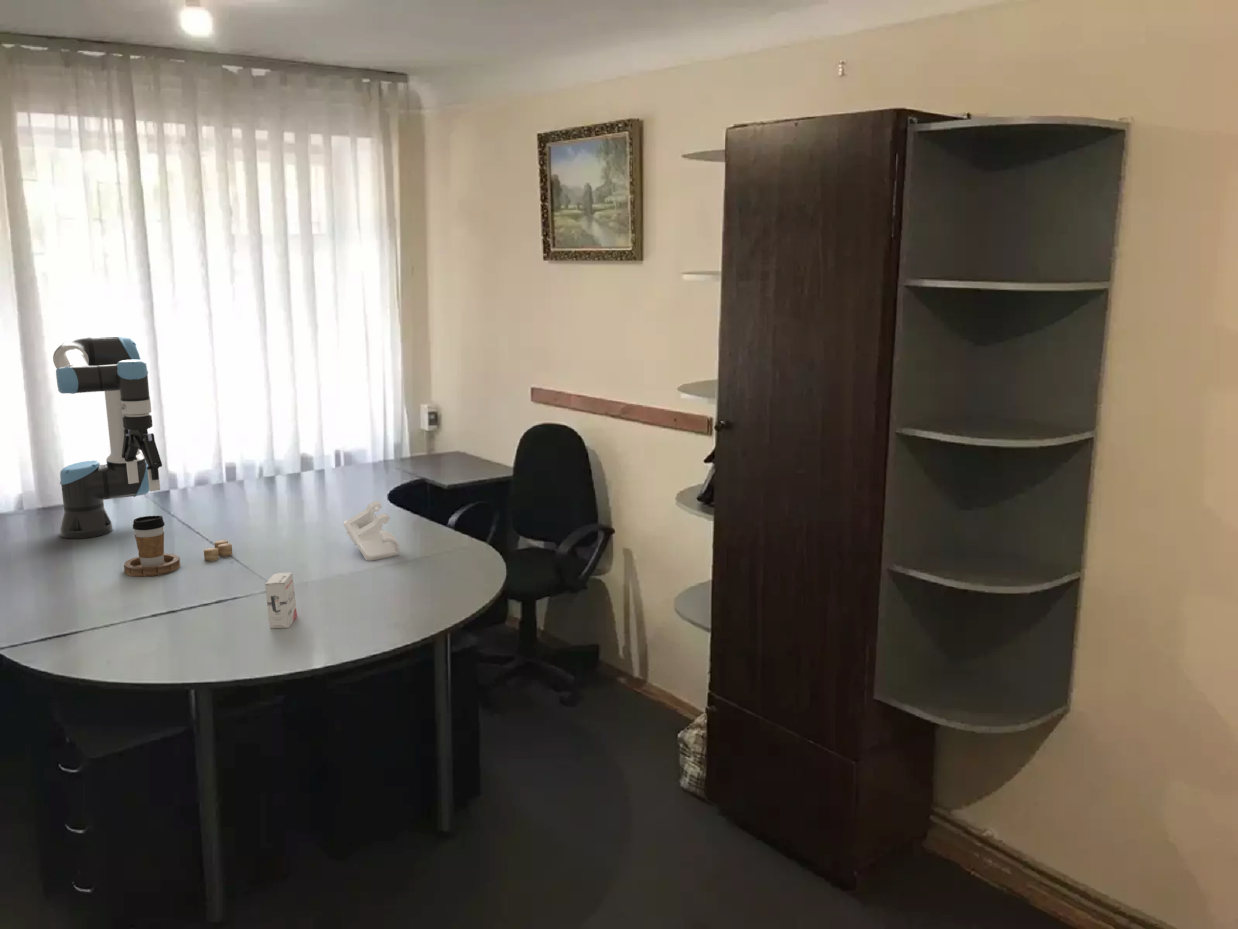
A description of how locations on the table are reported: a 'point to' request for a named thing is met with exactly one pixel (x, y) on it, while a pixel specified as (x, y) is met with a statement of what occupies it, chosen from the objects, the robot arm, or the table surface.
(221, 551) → the bead
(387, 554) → the white angular bracket-shaped piece
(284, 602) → the ink box
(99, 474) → the robot arm
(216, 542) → the bead
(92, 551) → the table surface
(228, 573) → the table surface
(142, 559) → the coffee cup
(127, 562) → the round tray
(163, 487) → the table surface
